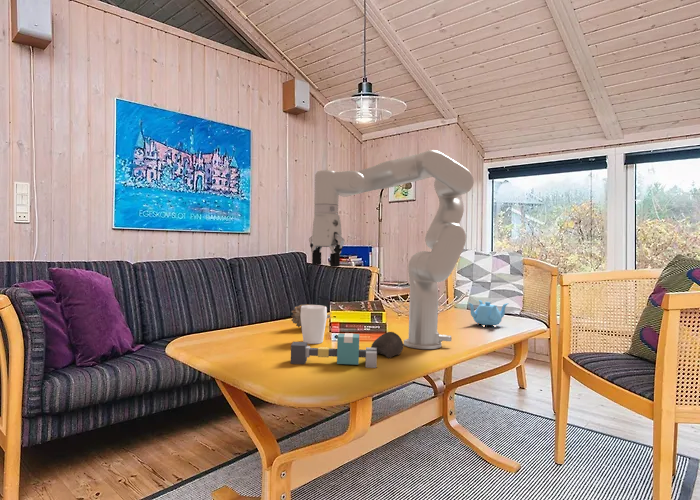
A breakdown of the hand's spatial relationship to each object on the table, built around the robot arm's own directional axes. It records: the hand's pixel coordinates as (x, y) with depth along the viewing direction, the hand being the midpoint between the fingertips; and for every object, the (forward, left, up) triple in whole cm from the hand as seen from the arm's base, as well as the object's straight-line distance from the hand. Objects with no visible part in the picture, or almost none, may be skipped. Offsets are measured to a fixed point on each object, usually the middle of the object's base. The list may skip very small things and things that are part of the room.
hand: (325, 265), depth 147 cm
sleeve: (-8, +14, -27) cm, 32 cm away
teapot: (-64, -53, -27) cm, 87 cm away
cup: (+5, -12, -27) cm, 30 cm away
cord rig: (-4, +14, -27) cm, 31 cm away
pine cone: (+7, -36, -27) cm, 45 cm away
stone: (-20, +2, -27) cm, 34 cm away
